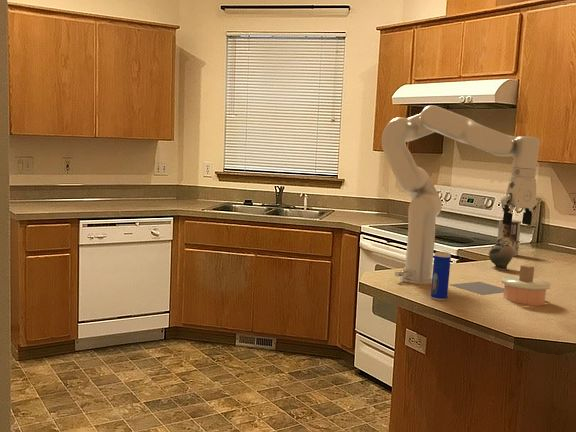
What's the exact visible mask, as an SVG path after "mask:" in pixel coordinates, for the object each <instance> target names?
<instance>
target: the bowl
mask: <svg viewBox="0 0 576 432" xmlns="http://www.w3.org/2000/svg"><path fill="white" fill-rule="evenodd" d="M503 288H504V292H503V298H504V299H505V300H506V301H510V302H512V303H517V304H521V305H522V304H523V305H530V306H531V307H532V306H534V307H535V306H536V307H539V306H545V303H546V297H547V289H545V290H534V289H524V288H518V287H513V286H510V285H506V284H504V286H503Z"/></svg>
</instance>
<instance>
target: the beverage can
mask: <svg viewBox="0 0 576 432" xmlns="http://www.w3.org/2000/svg"><path fill="white" fill-rule="evenodd" d="M451 259H452V256H451V252H448V251H435V252H434V254H433V264H432V275H431V277H432V284H431V288H430V289H431V291H430V298H431V299H433V300H436V301H446V300H447V299H448V292H449V281H450V269H451Z"/></svg>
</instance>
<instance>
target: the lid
mask: <svg viewBox="0 0 576 432" xmlns="http://www.w3.org/2000/svg"><path fill="white" fill-rule="evenodd" d="M534 273H535V266H532V265H528V264H523V265H520V270H519V276H517V275H506V276H503V277H501V282H502V284H504V285H505V284H506V285H510V286H513V287H518V288H524V289H534V290H545V289H546V290H549V289H551V285H552V284H551V283H550V282H548V281H546V280H544V279H539V278H534Z"/></svg>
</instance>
